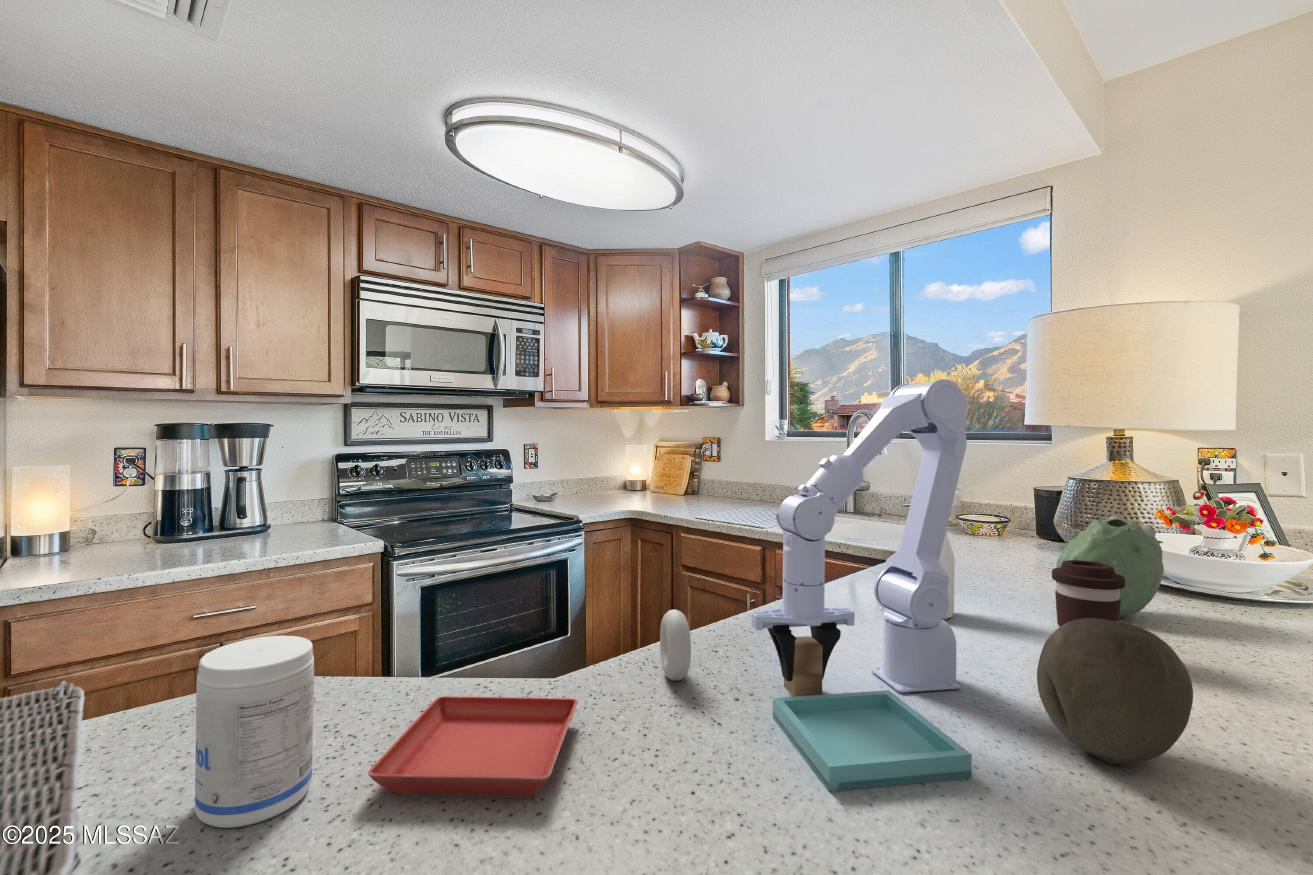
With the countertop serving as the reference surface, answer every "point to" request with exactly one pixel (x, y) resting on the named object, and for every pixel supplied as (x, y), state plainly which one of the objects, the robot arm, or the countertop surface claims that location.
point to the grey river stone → (1114, 689)
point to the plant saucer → (477, 747)
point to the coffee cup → (1087, 591)
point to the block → (806, 668)
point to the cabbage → (1122, 557)
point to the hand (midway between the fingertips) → (802, 677)
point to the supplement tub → (253, 729)
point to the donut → (675, 645)
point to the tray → (869, 740)
